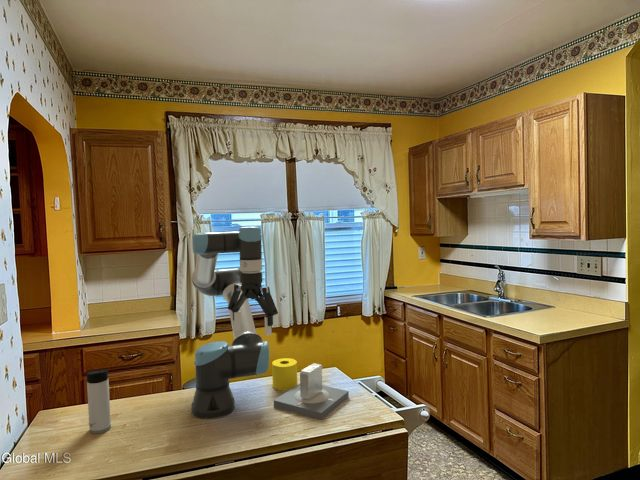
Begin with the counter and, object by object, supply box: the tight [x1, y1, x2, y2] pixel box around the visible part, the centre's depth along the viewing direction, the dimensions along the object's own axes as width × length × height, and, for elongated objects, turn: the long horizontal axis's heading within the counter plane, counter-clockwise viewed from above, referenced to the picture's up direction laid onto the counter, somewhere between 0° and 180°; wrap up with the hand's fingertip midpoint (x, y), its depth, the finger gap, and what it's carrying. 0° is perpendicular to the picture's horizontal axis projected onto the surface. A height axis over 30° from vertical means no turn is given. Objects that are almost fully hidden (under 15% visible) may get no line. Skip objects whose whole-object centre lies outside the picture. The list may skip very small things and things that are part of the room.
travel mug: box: [86, 368, 112, 435], centre depth 141 cm, size 6×7×20 cm
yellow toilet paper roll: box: [271, 357, 298, 391], centre depth 175 cm, size 10×10×9 cm
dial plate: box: [273, 383, 350, 421], centre depth 159 cm, size 20×20×3 cm
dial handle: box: [299, 362, 323, 400], centre depth 159 cm, size 9×4×10 cm, turn 149°
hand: (252, 332), depth 150 cm, fingers open, 13 cm apart
